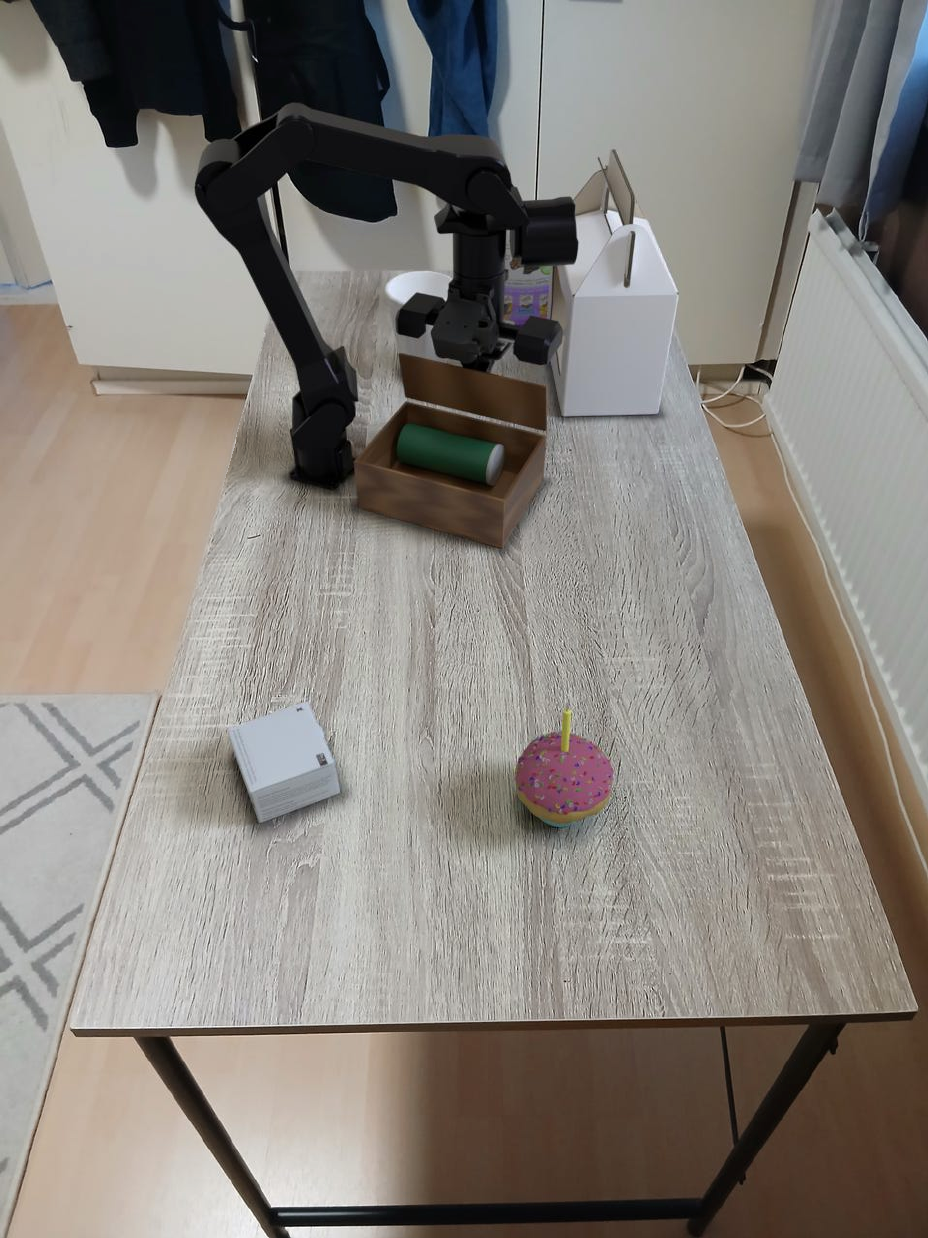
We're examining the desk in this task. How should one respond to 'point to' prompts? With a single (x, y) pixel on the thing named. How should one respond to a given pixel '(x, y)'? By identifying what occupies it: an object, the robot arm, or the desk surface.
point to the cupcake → (563, 777)
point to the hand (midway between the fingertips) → (477, 392)
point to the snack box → (451, 478)
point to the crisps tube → (451, 453)
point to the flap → (474, 391)
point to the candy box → (525, 289)
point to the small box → (284, 761)
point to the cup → (400, 293)
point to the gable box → (612, 305)
